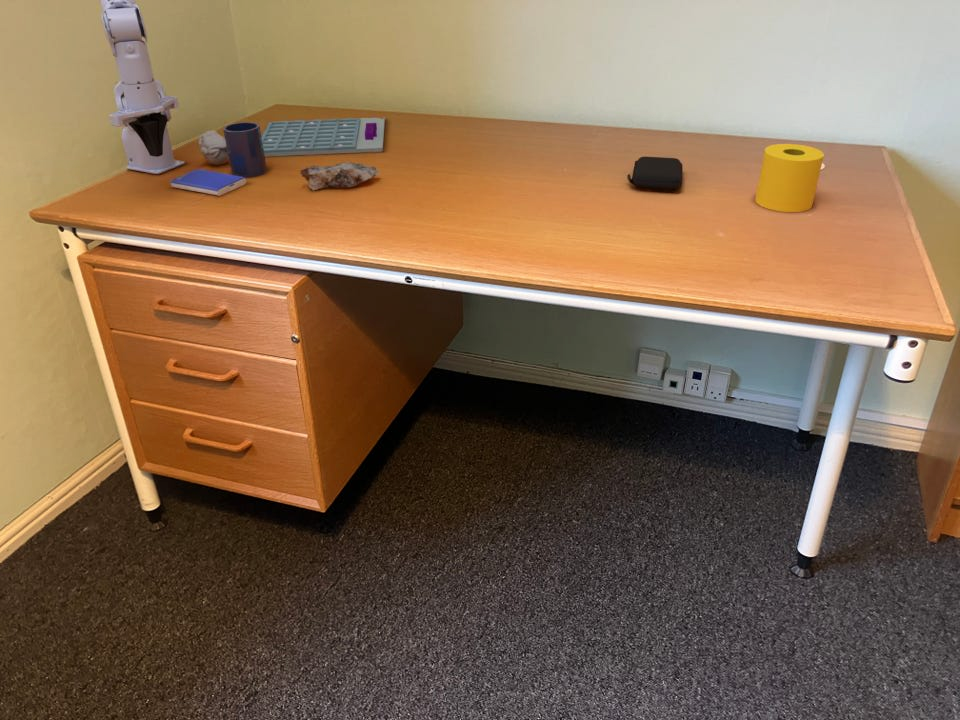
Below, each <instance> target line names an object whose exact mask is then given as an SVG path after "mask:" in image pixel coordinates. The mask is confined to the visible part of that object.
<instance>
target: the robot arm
mask: <svg viewBox="0 0 960 720" xmlns="http://www.w3.org/2000/svg"><path fill="white" fill-rule="evenodd" d="M99 3H100V7H101V10H102V11H101V12H100V18H101V21H102V25H103V29H104V33H105V36H106V40H107V42H108V45H109V46H110V50H111V53H112V56H113V57H114V62H115V65H116V69H117V72H118V73H117V74H118V77H119V81H118V83H116V85H115V86H114V89H113V94H114V100H115V103H116V107H117V111H116V112H114V113H111V114H108V116H109V122H110V125H111V127H117V128H121V127H123V129H122V131H121V141H122V142H121V143H122V145H123V149H124V153H125V156H126V160H127V163H128V165H127V166H125V169H126V170H131V171H136V172H143V173H148V174H153V175H160V174H162V173H165V172H169V171H170V170H172V169H176V168H178V167H180V166H182V165H185V161H183V160H177V159H176V158H175V156H174V151H173V148H172V147H173V146H172V143H171V138H170V135H169V131H168V123H169V122H170V121H171V120H172V115H171V110H172V109H175V110H176V109H178V108H180V103H179V100H178V97H177V96H169V95H168V96H167V94H166V92H165V88H164V85H163V84H162V83H161V82H160V81H159V80H157V79H156V78H155V73H154V71H153V66H152V63H151V62H152V61H151V58H150V53H149V49H148V46H147V45H148V44H147V42H148V34H147V33H148V32H147V30H146V25H145V24H146V23H145V20H144V17H143V14H142V11H141V9H140V7H139V6H138V4H137V3H136V0H99ZM143 39H144V40H145V41H144V40H143Z"/></svg>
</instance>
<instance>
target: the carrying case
mask: <svg viewBox="0 0 960 720" xmlns="http://www.w3.org/2000/svg"><path fill="white" fill-rule="evenodd" d="M683 167H684V166H683V163H682V162H681V160H680V159H678V158H676V157H663V156H641V157H639V158H638V159H637V160H635V161H634V165H633V170H632V174H631V175H632V176H631V175H630V173H628V174H627V175H626V178H627V181H628V182H629V184H631V185H633V186H634V187H635V189H636V190H640V191H651V192H666V193H676V192H677V191H679V189H681V188H682V186H683V174H684V173H683V172H684V171H683Z"/></svg>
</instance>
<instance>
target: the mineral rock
mask: <svg viewBox="0 0 960 720" xmlns="http://www.w3.org/2000/svg"><path fill="white" fill-rule="evenodd" d="M300 175H301V176H302V178H304V179H305V180H306V181H307V182H308V187H309V189H311V190H312V192H314V191H317V190H321V189H326V188H332V189H333V188H336V189H341V188H345V189H346V188H347V189H349V188H352V187H356V186H357V185H359V184H360V183H363V182H366V181H368V180H370V179H372V178H375V177H377V176H379V175H380V171H379V170H378V169H377V168H376V167H375V166H372V165H371V166H368V165H365V164H363V163H355V162H352V161H351V162H348V161H344V162H341V163H337V164H334V165H325V166H319V165H311V166H310V167H309V166H308V167H305V168H302V169H300Z"/></svg>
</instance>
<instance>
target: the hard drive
mask: <svg viewBox="0 0 960 720" xmlns="http://www.w3.org/2000/svg"><path fill="white" fill-rule="evenodd" d="M245 185H247V180H246V178H245V177H240V176H234V175H232V174H228V173H222V172H217V171H211V170H207V169H200V168H197V169H194V170H192V171H189V172H187V173H184V174H182V175H180V176H177V177H175V178H173V179H171V180H170V187H171V188H175V189H179V190H185V191H186V190H187V191H191V192H198V193H203V194H207V195H214V196H218V197H220V196H223V195H226V194H227V193H229V192H232V191H233V190H236V189H238V188H240V187H242V186H245Z"/></svg>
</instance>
